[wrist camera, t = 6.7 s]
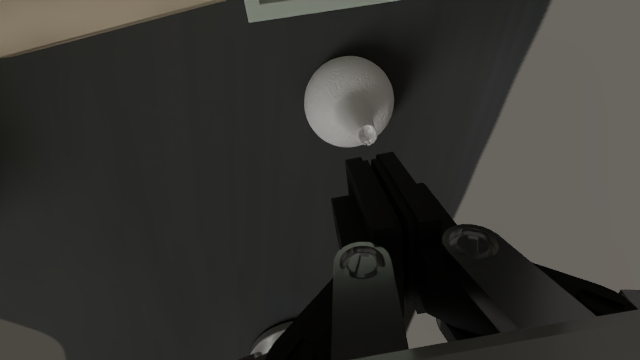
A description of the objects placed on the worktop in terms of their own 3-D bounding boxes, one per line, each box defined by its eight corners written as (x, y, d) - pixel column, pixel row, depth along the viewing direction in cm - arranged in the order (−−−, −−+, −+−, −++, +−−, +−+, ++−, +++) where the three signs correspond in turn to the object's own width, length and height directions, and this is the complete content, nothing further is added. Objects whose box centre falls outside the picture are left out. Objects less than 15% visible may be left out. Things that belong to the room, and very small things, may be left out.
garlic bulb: (397, 71, 22) (453, 83, 15) (367, 148, 25) (403, 191, 17) (317, 42, 21) (336, 41, 14) (292, 127, 23) (298, 165, 16)
